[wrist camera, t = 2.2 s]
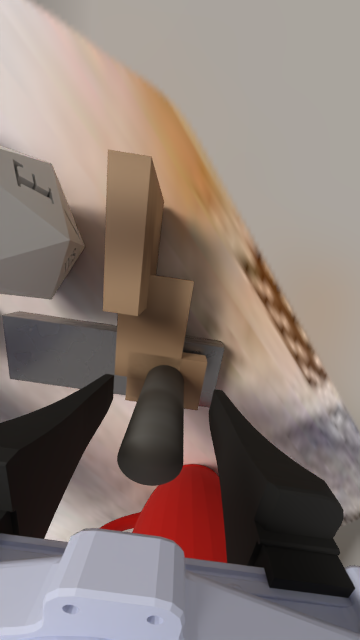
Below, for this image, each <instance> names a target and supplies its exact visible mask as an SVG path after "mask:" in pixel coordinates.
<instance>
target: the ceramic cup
mask: <svg viewBox="0 0 360 640" xmlns="http://www.w3.org/2000/svg"><path fill="white" fill-rule="evenodd" d="M132 528H134V529H133V532H132V533H137V534H145V535H152V536H160V537H164V538H167V539H170V540H173V541H174V542H175V543H176V544H178V545H179V546H180V547H181V548H182V550H183V551H184V557H185V558H192V559H200V560H207V561H215V562H223V563H227V555H226V541H225V529H224V518H223V508H222V498H221V488H220V480H219V476H218V475H217V474H216V473H215V472H214V471H213V470H211V469H210V468H208V467H205V466H202V465H197V464H189V465H183V467H182V470H181V472H180V474H179V475H178V476H177V477H176V478H175V479H174V480H172V481H170V482H168V483H166V484H162V485H159V486H158V487H157V488H156V489H155V490H154V492H153V493H152V494H151V496H150V498H149V499H148V501H147V503H146V504H145V506H144V508H143V510H142V511H141V512H139V513H135V514H131V515H128V516H124V517H121V518H119V519H116V520H114V521H111V522H109V523H107V524H105V525H104V526H102V527H101V528H100V529H107V530H115V531H124V530H127V529H132Z"/></svg>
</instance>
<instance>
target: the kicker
mask: <svg viewBox="0 0 360 640" xmlns="http://www.w3.org/2000/svg"><path fill="white" fill-rule="evenodd" d="M163 206H164V200H163V196H162V193H161V189H160V186H159V182H158V178H157V175H156V171H155V168H154V164H153V160H152V157H151V156H145V155H139V154H132V153H126V152H120V151H114V150H108V165H107V196H106V227H105V258H104V290H103V311H107V312H113V313H118V321H117V339H116V357H115V375H119V376H126V377H127V385H126V398H125V400H129V401H136V402H137V404H136V406H135V409H134V412H133V414H132V417H131V420H130V422H129V425H128V428H127V430H126V433H125V436H124V439H123V441H122V444H121V447H120V449H119V452H118V456H117V461H118V465H119V467H120V469H121V471H122V472H123V473H124V474H125V475H126V476H127V477H128V478H129V479H131V480H133V481H135V482H137V483H140V484H143V485H151V486H155V485H162V484H166V483H168V482H170V481H172V480H174V479H175V478H176V477H177V476H178V475H179V474H180V472H181V470H182V467H183V416H184V408H185V409H192V410H198V405H199V400H200V396H201V391H202V386H203V381H204V376H205V372H206V367H207V359H206V356H205V355H198V354H191V353H185V352H183V346H184V340H185V334H186V328H187V322H188V315H189V309H190V303H191V297H192V291H193V285H194V281H190V280H184V279H177V278H170V277H164V276H157V275H156V271H157V262H158V252H159V243H160V234H161V224H162V215H163Z"/></svg>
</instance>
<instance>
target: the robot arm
mask: <svg viewBox="0 0 360 640" xmlns="http://www.w3.org/2000/svg"><path fill="white" fill-rule="evenodd" d="M113 390H114V375H111V374H105V375H103V376H101V377H100V378H98V379H96V380H95V381H93V382H92V383H90V384H88V385H87V386H85V387H83V388H82V389H80V390H78V391H76V392H75V393H73V394H71V395H69V396H67V397H66V398H64V399H62V400H60V401H57V402H55V403H53V404H51V405H49V406H46V407H44V408H42V409H39V410H36V411H34V412H31V413H29V414H26V415H24V416H21V417H18V418H15V419H12V420H9V421H5V422H2V423H0V640H360V566H355V565H354V566H347V567H345V568H344V567H343V565H342V563H341V561H340V559H339V558H338V556H337V555H339V554H340V551H339V548H338V546H337V545H336V543H335V541H334V539H333V537H334V536H335V534H336V532H337V530H338V529H339V527H340V525H341V523H342V521H343V509H342V507H341V505H340V503H339V502H338V500H337V499H336V497H335V496H334V494H333V493H332V491H331V490H330V488H329V487H328V486H327V484H326V483H325V481H323V480H322V479H320V478H319V477H317V476H316V475H314V474H313V473H311V472H310V471H308V470H306V469H305V468H303V467H302V466H300V465H299V464H298V463H296V462H295V461H293V460H292V459H291V458H289V457H288V456H287V455H285V454H284V453H283V452H281V451H280V450H279V449H278V448H276V447H275V446H274V445H273V444H272V443H270V442H269V441H268V440H267V439H266V438H265V437H263V436H262V435H261V434H260V433H259V432H258V431H257V430H256V429H255V428H254V427H253V426H252V425H251V424H250V423H249V422H248V421H247V420H246V419H245V417H244V416H243V415H242V414H241V413H240V412H239V411H238V409H237V408H236V407H235V406H234V404H233V403H232V402H231V401H230V399H229V398H228V397H227V396H226V394H225V393H224V392H223V391H222V390H215V389H214V392H213V396H212V400H211V405H210V409H209V424H210V431H211V436H212V441H213V446H214V451H215V455H216V460H217V466H218V472H219V480H220V488H221V498H222V508H223V518H224V529H225V541H226V555H227V563H223V562H215V561H207V560H200V559H192V558H185V557H184V551H183V550H182V548H181V547H180V546H179V545H178V544H176V543H175V542H174V541H173V540H170V539H167V538H164V537H160V536H152V535H145V534H137V533H130V532H122V531H115V530H107V529H100V528H91V529H83V530H81V531H79V532H77V533H76V534H74V535H73V536H71V538H70V540H69V542H63V541H55V540H48V539H44V538H45V535H46V533H47V531H48V528H49V526H50V524H51V521H52V519H53V517H54V514H55V512H56V510H57V508H58V506H59V503H60V501H61V499H62V497H63V494H64V492H65V490H66V488H67V486H68V484H69V482H70V479H71V477H72V475H73V473H74V471H75V469H76V467H77V465H78V463H79V461H80V459H81V457H82V455H83V453H84V451H85V449H86V447H87V445H88V444H89V442H90V440H91V439H92V437H93V435H94V434H95V432H96V430H97V429H98V427H99V425H100V424H101V422H102V420H103V419H104V417H105V415H106V414H107V412H108V409H109V407H110V405H111V403H112V400H113Z"/></svg>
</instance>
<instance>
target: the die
mask: <svg viewBox="0 0 360 640" xmlns="http://www.w3.org/2000/svg"><path fill="white" fill-rule="evenodd" d="M84 248H85V245H84V243H83V240H82V238H81V235H80V233H79V230H78V228H77V225H76V224H75V220H74V218H73V215H72V213H71V210H70V208H69V205H68V203H67V200H66V198H65V195H64V193H63V190H62V188H61V185H60V183H59V180H58V178H57V176H56V173H55V171H54V168H53V166H52V164H51V163H48V162H45V161H42V160H39V159H37V158H34V157H31V156H28V155H25V154H22V153H20V152H17V151H14V150H11V149H8V148H5V147H3V146H0V294H8V295H17V296H26V297H35V298H44V299H52V298H53V296H54V294H55V293H56V291H57V290H58V288H59V287H60V285H61V284H62V282H63V280H64V279H65V277H66V276H67V274H68V273H69V271H70V270H71V268H72V266H73V265H74V263H75V262H76V260H77V259H78V257H79V255H80V254H81V252H82V251H83V249H84Z"/></svg>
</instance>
